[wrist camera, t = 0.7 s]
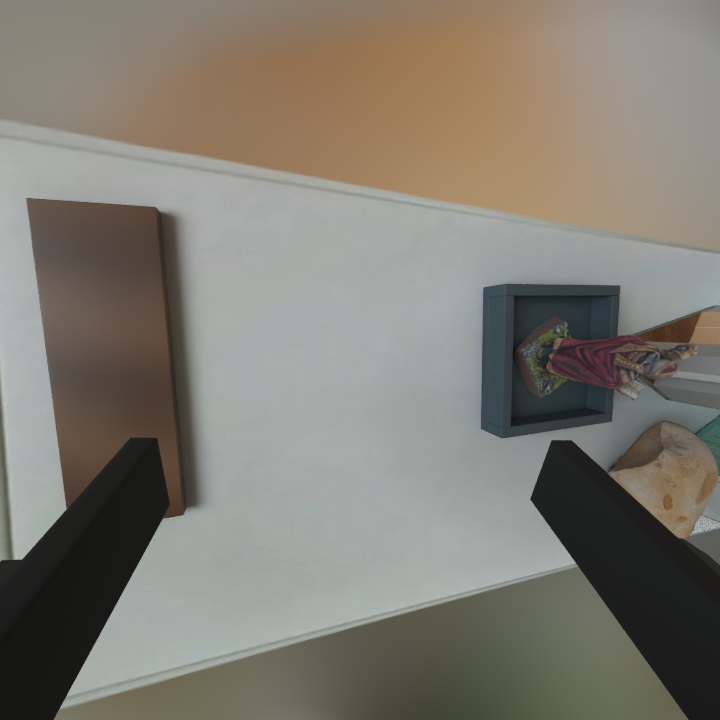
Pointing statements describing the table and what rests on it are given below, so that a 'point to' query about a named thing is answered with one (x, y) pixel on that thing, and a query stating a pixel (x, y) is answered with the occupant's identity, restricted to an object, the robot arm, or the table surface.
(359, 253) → the table surface
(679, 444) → the stone
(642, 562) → the robot arm
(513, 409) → the dark grey square tray
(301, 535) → the table surface
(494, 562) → the table surface
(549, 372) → the figurine
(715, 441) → the box
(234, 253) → the table surface
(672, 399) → the cabinet
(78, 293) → the board
